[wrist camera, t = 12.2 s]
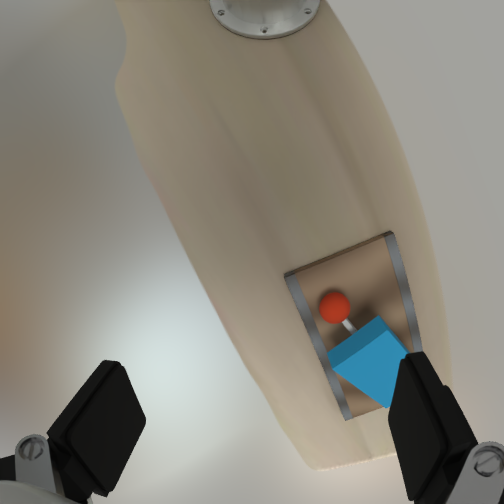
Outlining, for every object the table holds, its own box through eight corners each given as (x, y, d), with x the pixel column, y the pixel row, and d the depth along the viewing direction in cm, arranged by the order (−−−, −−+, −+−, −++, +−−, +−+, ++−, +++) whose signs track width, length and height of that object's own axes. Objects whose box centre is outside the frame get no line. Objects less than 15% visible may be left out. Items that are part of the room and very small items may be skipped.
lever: (408, 344, 39) (346, 270, 32) (429, 379, 33) (370, 310, 26) (370, 372, 41) (297, 309, 34) (386, 408, 35) (311, 353, 28)
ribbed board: (284, 274, 35) (284, 278, 34) (390, 230, 32) (394, 233, 31) (344, 414, 40) (345, 420, 39) (425, 382, 37) (428, 388, 36)
